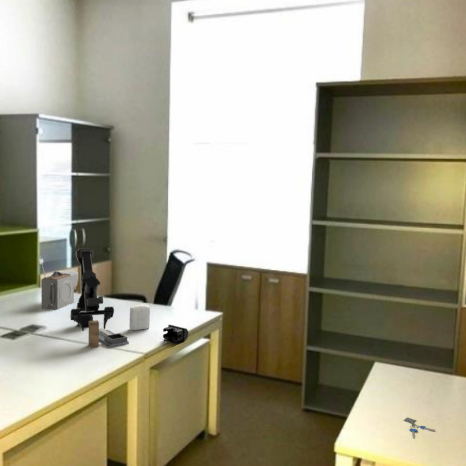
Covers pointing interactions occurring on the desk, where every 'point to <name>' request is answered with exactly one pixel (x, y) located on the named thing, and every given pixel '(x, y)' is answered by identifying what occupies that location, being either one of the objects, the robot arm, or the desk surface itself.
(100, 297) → the robot arm
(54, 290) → the portable television
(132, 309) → the photo printer
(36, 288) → the desk surface
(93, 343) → the brown tall block
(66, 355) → the desk surface
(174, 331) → the end cap
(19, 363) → the desk surface
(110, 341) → the rail
